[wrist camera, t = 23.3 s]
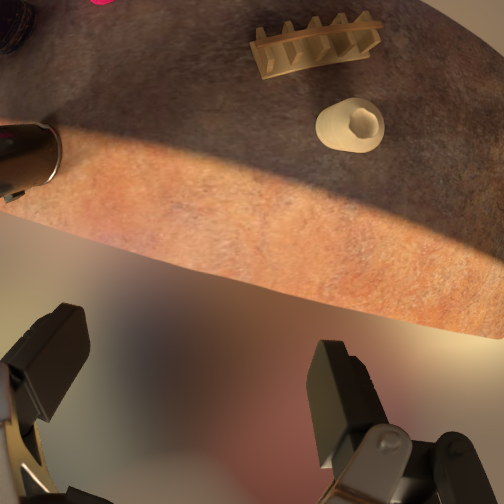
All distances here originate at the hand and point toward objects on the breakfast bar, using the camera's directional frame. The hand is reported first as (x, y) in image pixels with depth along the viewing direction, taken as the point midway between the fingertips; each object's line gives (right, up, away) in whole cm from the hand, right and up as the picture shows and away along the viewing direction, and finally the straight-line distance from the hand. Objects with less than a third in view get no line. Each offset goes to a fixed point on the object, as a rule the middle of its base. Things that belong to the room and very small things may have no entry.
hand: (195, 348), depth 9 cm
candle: (+12, +18, +25) cm, 33 cm away
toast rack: (+9, +28, +21) cm, 36 cm away
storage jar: (-37, +40, +17) cm, 57 cm away
